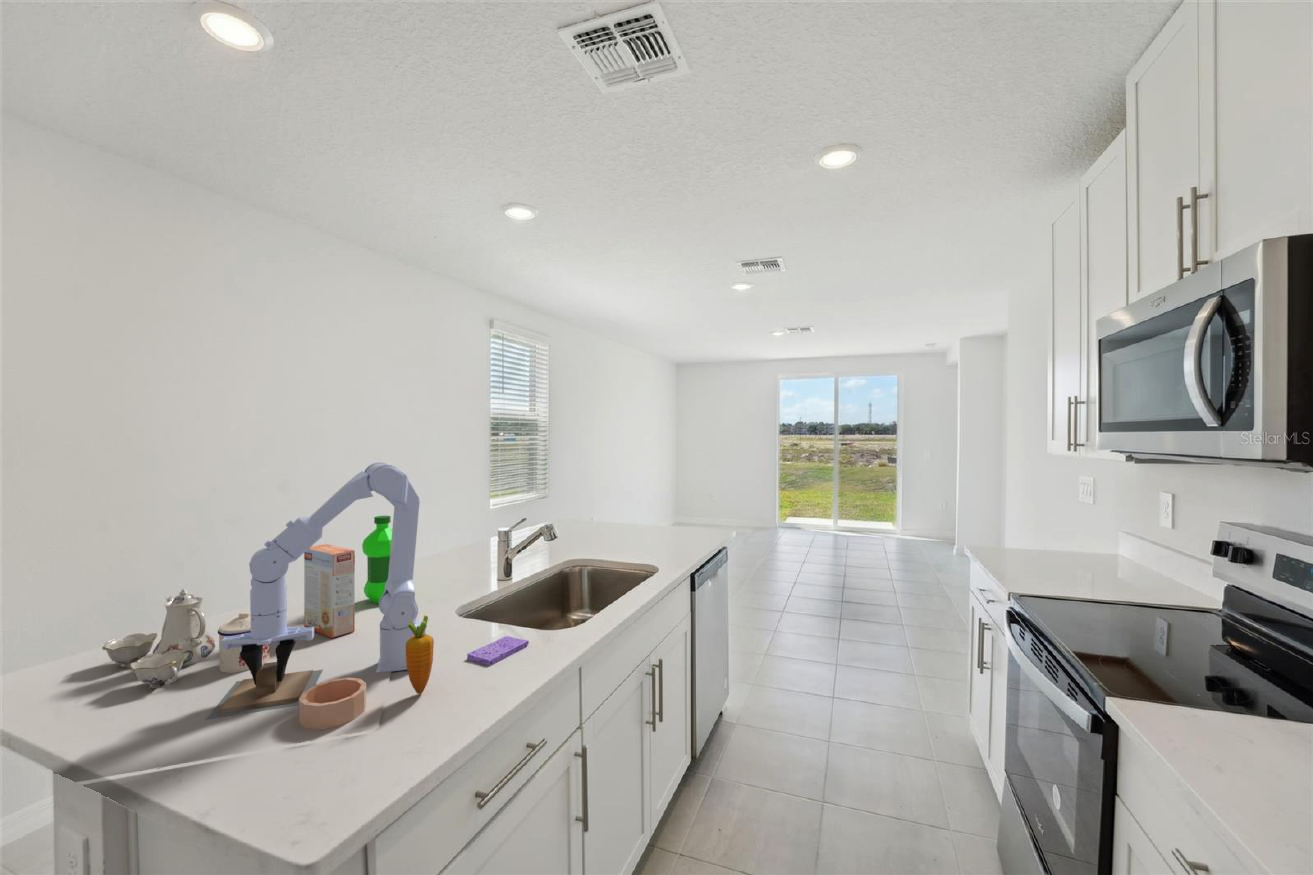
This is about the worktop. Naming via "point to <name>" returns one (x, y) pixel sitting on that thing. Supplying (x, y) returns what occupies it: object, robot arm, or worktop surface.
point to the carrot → (419, 656)
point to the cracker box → (329, 590)
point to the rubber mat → (216, 710)
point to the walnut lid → (267, 689)
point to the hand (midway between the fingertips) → (269, 680)
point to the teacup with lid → (231, 657)
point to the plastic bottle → (377, 557)
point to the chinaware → (166, 643)
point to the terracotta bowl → (332, 703)
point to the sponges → (497, 650)
